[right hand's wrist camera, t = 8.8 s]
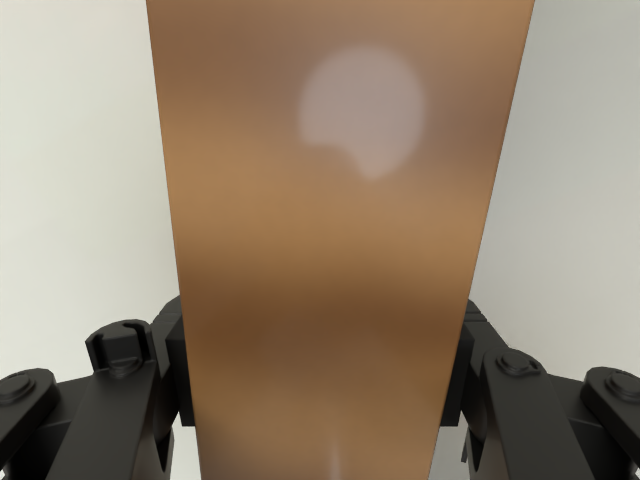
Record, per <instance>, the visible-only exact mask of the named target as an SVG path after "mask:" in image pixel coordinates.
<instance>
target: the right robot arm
mask: <svg viewBox="0 0 640 480" xmlns="http://www.w3.org/2000/svg"><path fill="white" fill-rule="evenodd" d="M85 344H86V347H87V350H88V354H89V357H90V360H91V363H92V367H93V370H94V373H93V375H91V376H87V377H83V378H79V379H74V380H70V381H65V382H60V383H56V380H55V377H54V374H53V373H52V372H51V371H49V370H48V369H41V368H36V369H29V370H24V371H20V372H18V373H14V374H11V375H9V376H7V377H5V378H3V379H1V380H0V471H1V470H2V469H3V471H4V473H5V476H4V477H3V479H2V480H170V473H171V465H172V456H173V447H174V434H173V429H172V424H173V422H174V420H175V418H176V416H177V414H178V411H179V414H180V419H181V424H182V426H195V420H194V412H193V403H192V394H191V386H190V377H189V369H188V360H187V351H186V343H185V334H184V325H183V317H182V308H181V299H180V295H179V296H177V297H176V298H174V299H173V300H171V301H169V302H168V303H167V304H166V305H165V306H164V308H163V309H162V310H161V311H160V313H159V315H157V316H156V318H155V319H154V320H153V323H151V324H150V325H149V324H148V323H147V322H146V321H142V320H138V319H132V320H122V321H118V322H114V323H111V324H109V325H106V326H104V327H102V328H100V329H98V330H97V331H95V332H94V333H92V334H91V335H90V336H89V337H88V339H87V340H86V341H85ZM461 410H462V412H463V414H464V417H465V419H466V421H467V423H468V429H467V434H466V438H465V443H464V448H463V452H462V459H461V462H464V463H466V460H467V455H468V464H469V472H470V480H640V479H639V478H638V477H637V475H636V474H635V473H636V471H637V469H638V468H639V469H640V378H638V377H636V376H634V375H633V374H631V373H628V372H625V371H622V370H619V369H615V368H608V367H595V368H591V369H590V370H589V371H588V372H587V373H586V376H585V379H584V382H582V381H577V380H573V379H568V378H564V377H559V376H554V375H551V374H547V372H546V370H545V369H544V368H543V366H542V365H541V363H539V362H538V361H537V360H535V359H534V358H533V357H531V356H530V355H528V354H526V353H523V352H521V351H519V350H515V349H512V348H509V347H508V346H507V345H506V343H505V342H504V341H503V339H502V338H501V337H500V336H499V334H498V333H497V332H496V331H495V329H494V328H493V327H492V325H491V324H490V323H489V322H487V319H486V318H485V317H484V315H483V314H481V311H480V310H479V309H478V308H477V306H476V305H475V304H474V303H473V302H472V301H471V300H469V299H468V302H467V307H466V311H465V315H464V320H463V324H462V329H461V333H460V338H459V342H458V347H457V351H456V356H455V360H454V365H453V369H452V374H451V378H450V383H449V387H448V392H447V396H446V401H445V405H444V410H443V414H442V419H441V423H440V426H458V422H459V417H460V412H461Z"/></svg>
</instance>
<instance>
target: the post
mask: <svg viewBox="0 0 640 480" xmlns="http://www.w3.org/2000/svg"><path fill="white" fill-rule="evenodd" d="M534 2H535V0H146V5H147V14H148V23H149V31H150V40H151V49H152V57H153V66H154V74H155V83H156V92H157V100H158V109H159V118H160V126H161V135H162V144H163V152H164V161H165V170H166V178H167V187H168V196H169V204H170V213H171V221H172V230H173V239H174V247H175V256H176V265H177V273H178V282H179V291H180V299H181V308H182V317H183V325H184V334H185V343H186V351H187V360H188V369H189V377H190V386H191V394H192V403H193V412H194V420H195V429H196V438H197V446H198V455H199V464H200V472H201V480H428V477H429V472H430V468H431V463H432V459H433V454H434V450H435V445H436V441H437V436H438V432H439V428H440V423H441V419H442V414H443V410H444V405H445V401H446V396H447V392H448V387H449V383H450V378H451V374H452V369H453V365H454V360H455V356H456V351H457V347H458V342H459V338H460V333H461V329H462V324H463V320H464V315H465V311H466V307H467V302H468V298H469V293H470V289H471V284H472V280H473V275H474V271H475V266H476V262H477V257H478V253H479V248H480V244H481V239H482V235H483V230H484V226H485V221H486V217H487V212H488V208H489V203H490V199H491V195H492V190H493V186H494V181H495V177H496V172H497V168H498V163H499V159H500V154H501V150H502V145H503V141H504V136H505V132H506V127H507V123H508V118H509V114H510V109H511V105H512V100H513V96H514V91H515V87H516V82H517V78H518V74H519V69H520V65H521V60H522V56H523V51H524V47H525V42H526V38H527V33H528V29H529V24H530V20H531V15H532V11H533V6H534Z"/></svg>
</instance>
